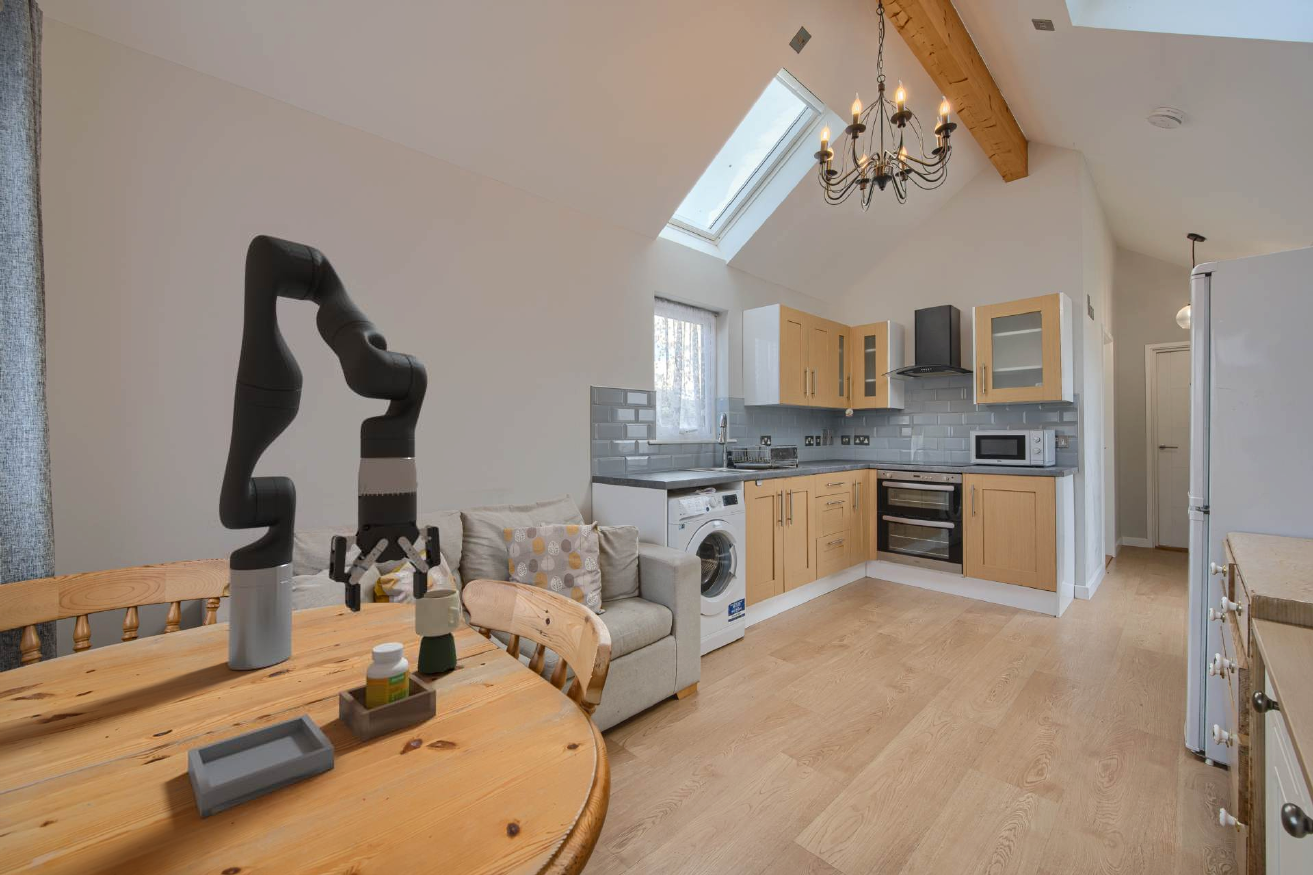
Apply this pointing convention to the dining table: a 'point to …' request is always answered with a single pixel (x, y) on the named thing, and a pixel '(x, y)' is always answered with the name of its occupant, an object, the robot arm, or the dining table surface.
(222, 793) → the tray
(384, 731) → the holder
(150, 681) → the dining table surface
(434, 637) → the character mug
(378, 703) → the supplement bottle
